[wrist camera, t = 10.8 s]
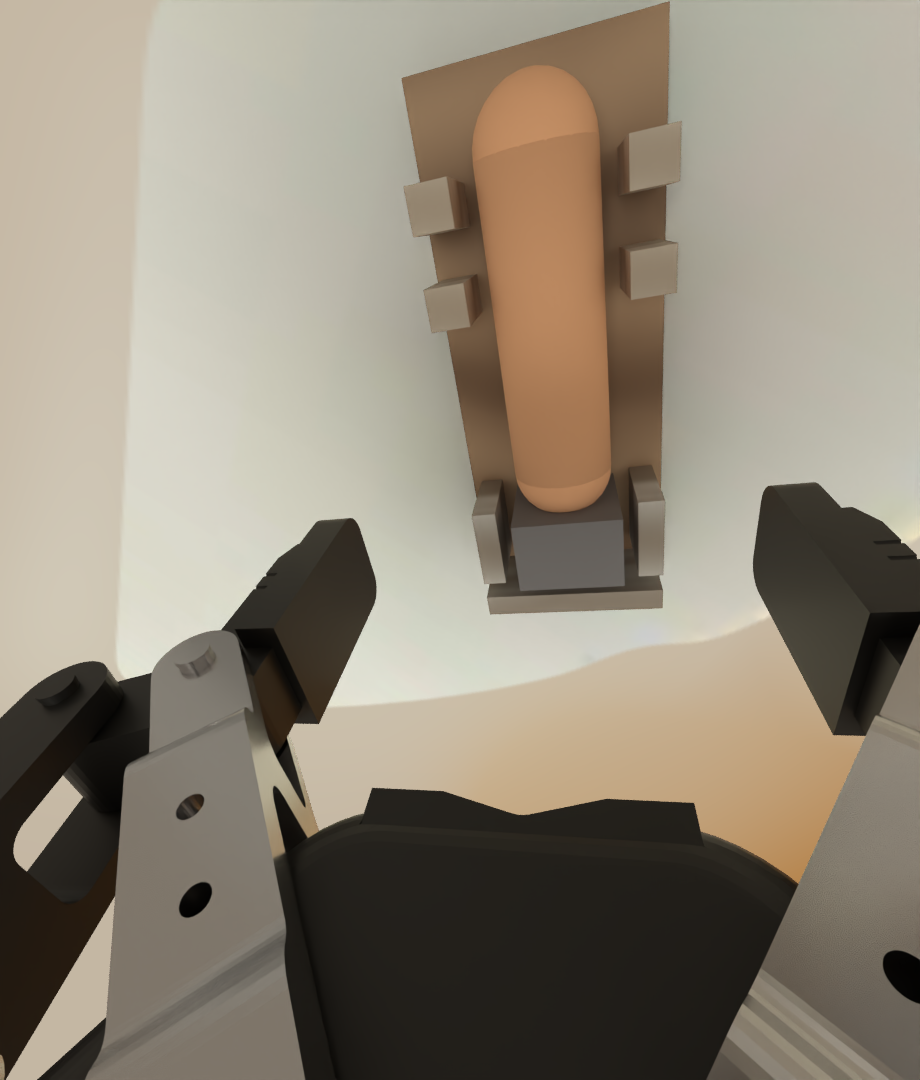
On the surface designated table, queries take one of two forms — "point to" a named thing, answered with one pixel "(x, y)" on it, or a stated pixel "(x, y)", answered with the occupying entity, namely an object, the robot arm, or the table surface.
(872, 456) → the table surface
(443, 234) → the brown pegged board
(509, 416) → the tan rounded rod
